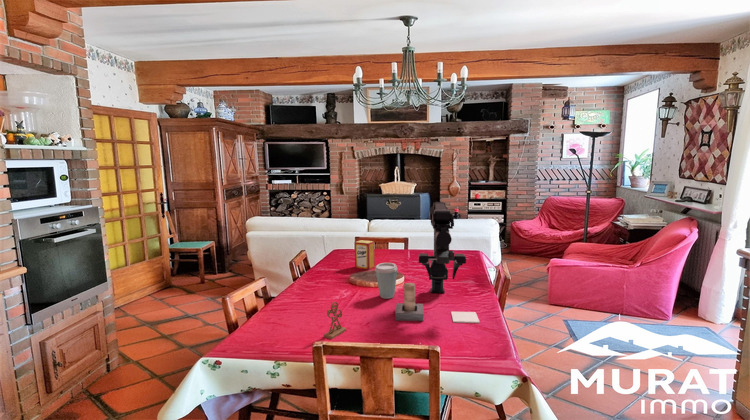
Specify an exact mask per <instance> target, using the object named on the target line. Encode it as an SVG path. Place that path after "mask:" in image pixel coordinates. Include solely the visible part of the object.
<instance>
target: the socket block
mask: <svg viewBox="0 0 750 420" xmlns="http://www.w3.org/2000/svg"><path fill="white" fill-rule="evenodd" d="M394 313H395V321H404V322H407V321H409V322H413V321H414V322H424V317H425V316H424V315H425V314H424V303H415V311H404V302H403V303H402V302H401V303H400V302H397V303H396V307H395V312H394Z"/></svg>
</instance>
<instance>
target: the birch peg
mask: <svg viewBox="0 0 750 420" xmlns="http://www.w3.org/2000/svg"><path fill="white" fill-rule="evenodd" d="M403 300H404V301H403V303H404V311H415V304H416V284H415V283H414V282H406V283H404V284H403Z"/></svg>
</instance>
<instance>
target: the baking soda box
mask: <svg viewBox="0 0 750 420" xmlns="http://www.w3.org/2000/svg"><path fill="white" fill-rule="evenodd" d="M375 264H376V263H375V241H374V240H373V241H372V240H364V239H363V240H362V239H359V240H357V241H354V268H355V269H359V270H365V271H370V270H373V269H375V267H376V265H375Z"/></svg>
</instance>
